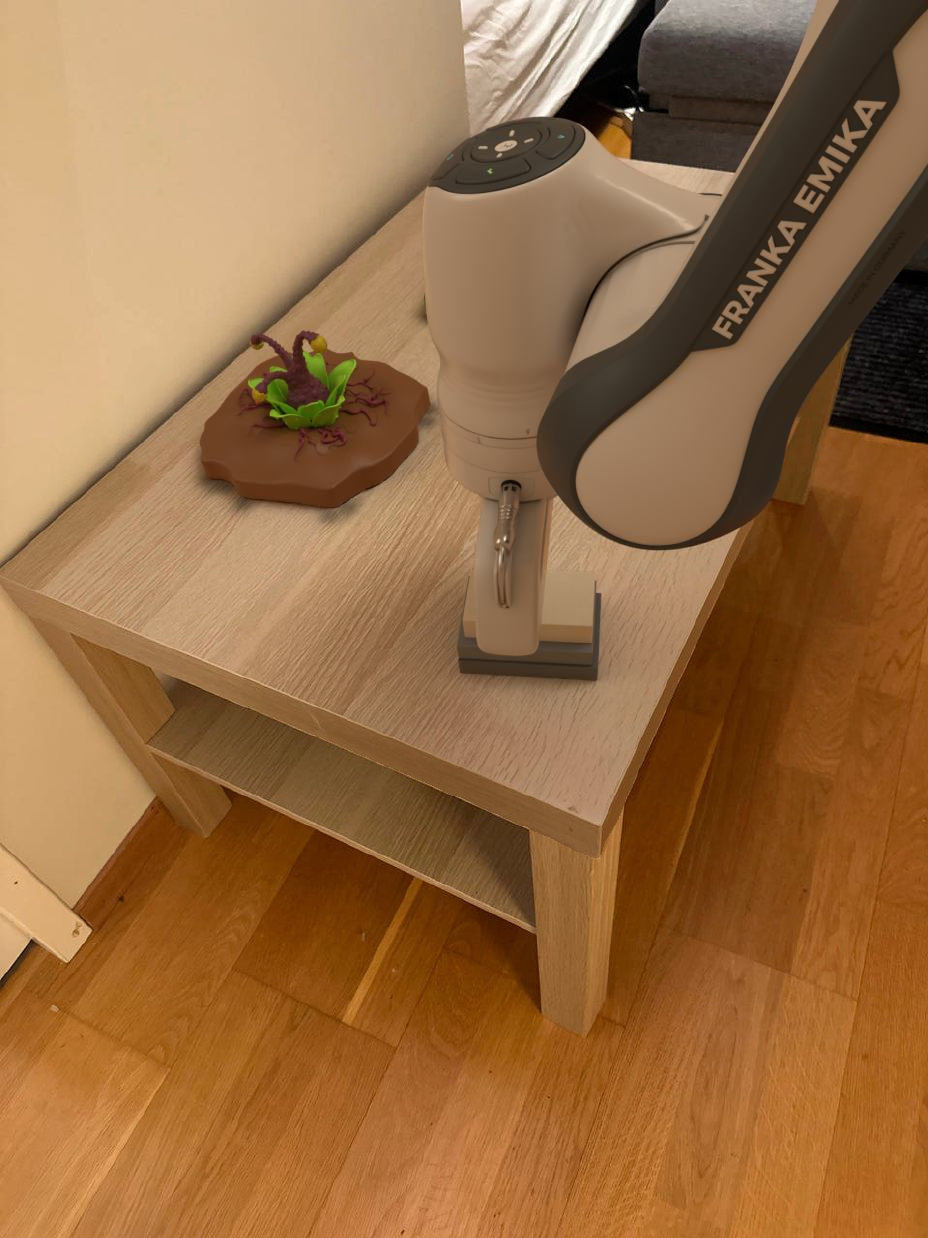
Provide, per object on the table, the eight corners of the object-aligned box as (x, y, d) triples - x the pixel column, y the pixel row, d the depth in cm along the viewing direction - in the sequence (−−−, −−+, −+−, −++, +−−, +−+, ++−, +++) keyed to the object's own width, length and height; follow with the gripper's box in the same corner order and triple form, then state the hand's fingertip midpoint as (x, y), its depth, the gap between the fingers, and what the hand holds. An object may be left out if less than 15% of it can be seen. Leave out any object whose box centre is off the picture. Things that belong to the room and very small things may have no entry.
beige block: (594, 589, 66) (595, 571, 64) (591, 643, 63) (592, 626, 61) (473, 584, 67) (471, 567, 65) (464, 637, 64) (462, 620, 62)
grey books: (600, 605, 68) (602, 579, 66) (597, 680, 64) (598, 655, 62) (471, 599, 70) (468, 574, 68) (460, 673, 66) (456, 648, 63)
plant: (356, 531, 76) (329, 426, 67) (174, 478, 82) (127, 377, 74) (457, 391, 87) (445, 285, 78) (289, 354, 93) (259, 253, 84)
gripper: (561, 565, 45) (560, 714, 56) (581, 327, 57) (577, 486, 68) (437, 560, 46) (460, 707, 56) (483, 326, 58) (494, 484, 69)
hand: (524, 584), depth 62 cm, fingers open, 8 cm apart
